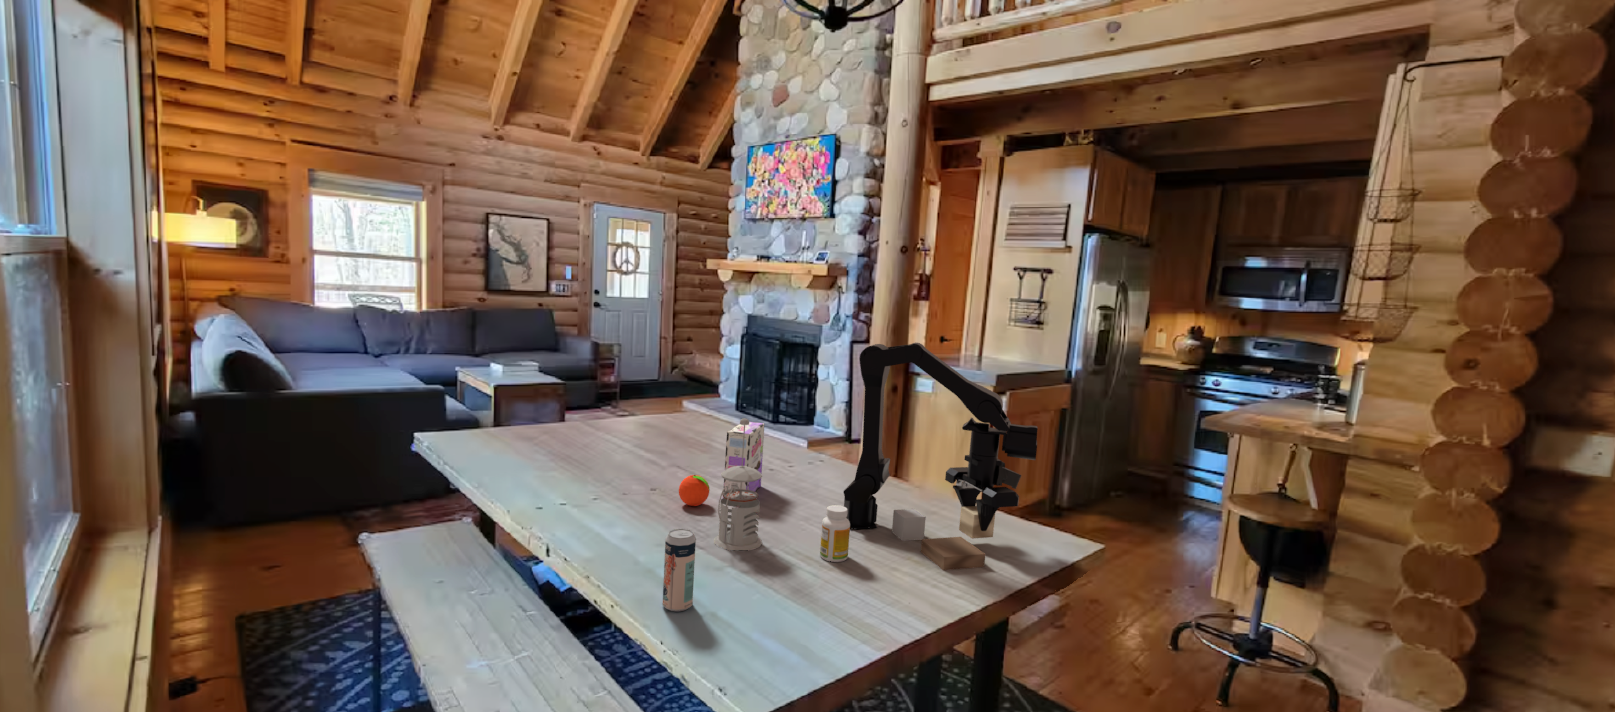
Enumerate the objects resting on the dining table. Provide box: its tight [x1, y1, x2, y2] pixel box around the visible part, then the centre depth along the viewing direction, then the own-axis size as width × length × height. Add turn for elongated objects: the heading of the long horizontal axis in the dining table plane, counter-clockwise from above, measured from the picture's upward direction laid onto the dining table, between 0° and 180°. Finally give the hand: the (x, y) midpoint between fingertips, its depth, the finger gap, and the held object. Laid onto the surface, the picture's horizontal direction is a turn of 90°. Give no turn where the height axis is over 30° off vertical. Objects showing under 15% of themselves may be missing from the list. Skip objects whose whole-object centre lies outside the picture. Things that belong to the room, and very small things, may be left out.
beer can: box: [662, 528, 697, 613], centre depth 110 cm, size 5×5×12 cm
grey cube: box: [891, 508, 927, 542], centre depth 148 cm, size 5×5×5 cm
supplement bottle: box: [819, 504, 851, 563], centre depth 133 cm, size 5×5×10 cm
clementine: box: [678, 474, 711, 507], centre depth 157 cm, size 8×7×7 cm
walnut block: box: [920, 536, 986, 571], centre depth 137 cm, size 9×9×3 cm
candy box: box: [722, 421, 765, 499], centre depth 169 cm, size 14×6×16 cm, turn 168°
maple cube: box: [958, 505, 996, 539], centre depth 145 cm, size 5×5×5 cm
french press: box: [713, 418, 763, 551], centre depth 136 cm, size 10×12×25 cm
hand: (976, 526), depth 145 cm, fingers closed on maple cube, 5 cm apart
